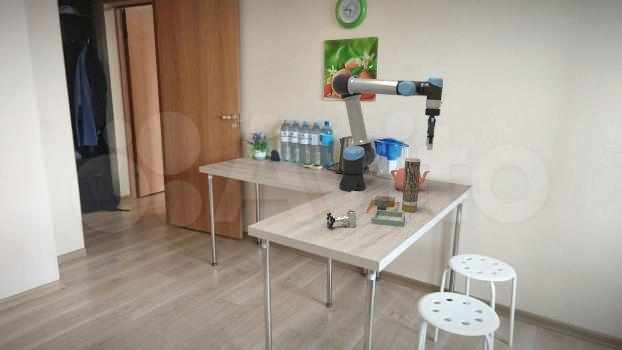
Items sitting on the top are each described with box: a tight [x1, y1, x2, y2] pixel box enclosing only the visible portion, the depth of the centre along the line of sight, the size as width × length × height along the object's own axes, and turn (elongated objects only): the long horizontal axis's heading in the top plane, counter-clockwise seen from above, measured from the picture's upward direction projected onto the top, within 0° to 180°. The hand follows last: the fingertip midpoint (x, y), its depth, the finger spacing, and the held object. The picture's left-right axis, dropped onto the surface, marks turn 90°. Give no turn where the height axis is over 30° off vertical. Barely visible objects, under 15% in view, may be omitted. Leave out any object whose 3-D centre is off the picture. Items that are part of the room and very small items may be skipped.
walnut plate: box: [374, 195, 396, 207], centre depth 195 cm, size 9×7×3 cm
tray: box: [370, 209, 406, 228], centre depth 173 cm, size 13×13×3 cm
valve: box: [326, 209, 357, 229], centre depth 166 cm, size 7×7×12 cm
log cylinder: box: [401, 157, 421, 214], centre depth 184 cm, size 7×7×25 cm
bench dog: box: [377, 198, 387, 210], centre depth 183 cm, size 4×3×6 cm
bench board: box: [365, 199, 401, 215], centre depth 191 cm, size 14×22×1 cm, turn 164°
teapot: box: [390, 167, 431, 192], centre depth 224 cm, size 17×16×13 cm
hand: (429, 148), depth 215 cm, fingers open, 13 cm apart
